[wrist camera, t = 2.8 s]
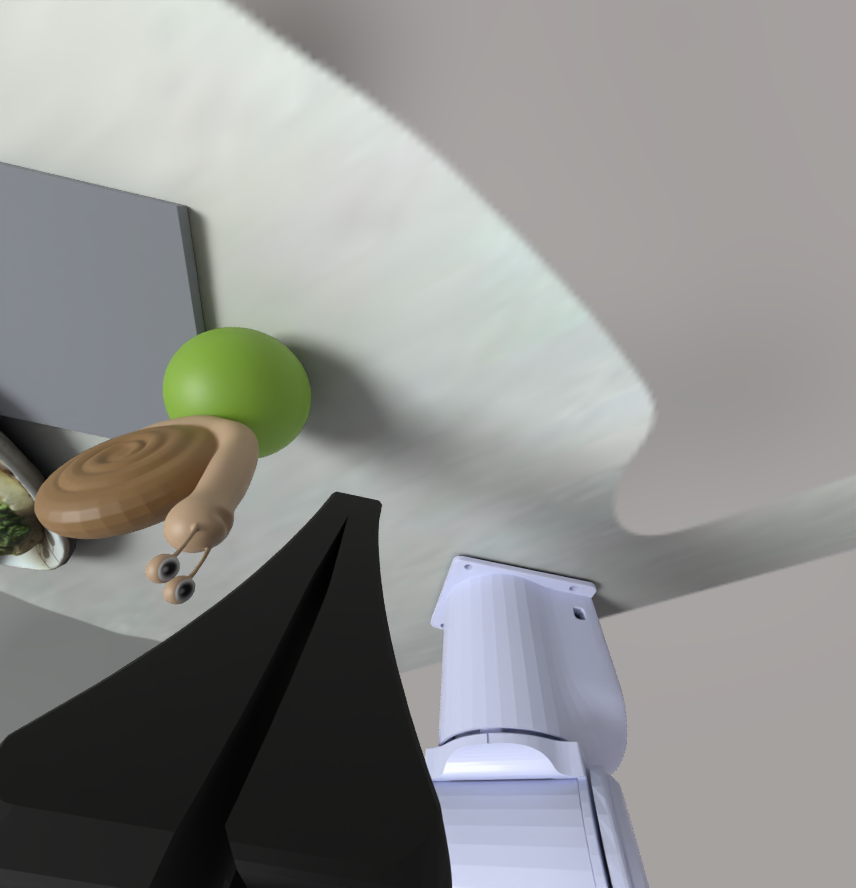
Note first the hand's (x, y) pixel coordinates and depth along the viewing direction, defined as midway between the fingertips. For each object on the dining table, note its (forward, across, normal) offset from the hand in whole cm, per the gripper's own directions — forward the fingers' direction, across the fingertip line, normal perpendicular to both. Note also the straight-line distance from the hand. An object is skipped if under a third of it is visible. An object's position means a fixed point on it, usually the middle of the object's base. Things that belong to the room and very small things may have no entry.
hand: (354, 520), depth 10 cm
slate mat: (+8, +17, 0) cm, 19 cm away
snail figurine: (+9, +6, 0) cm, 10 cm away
